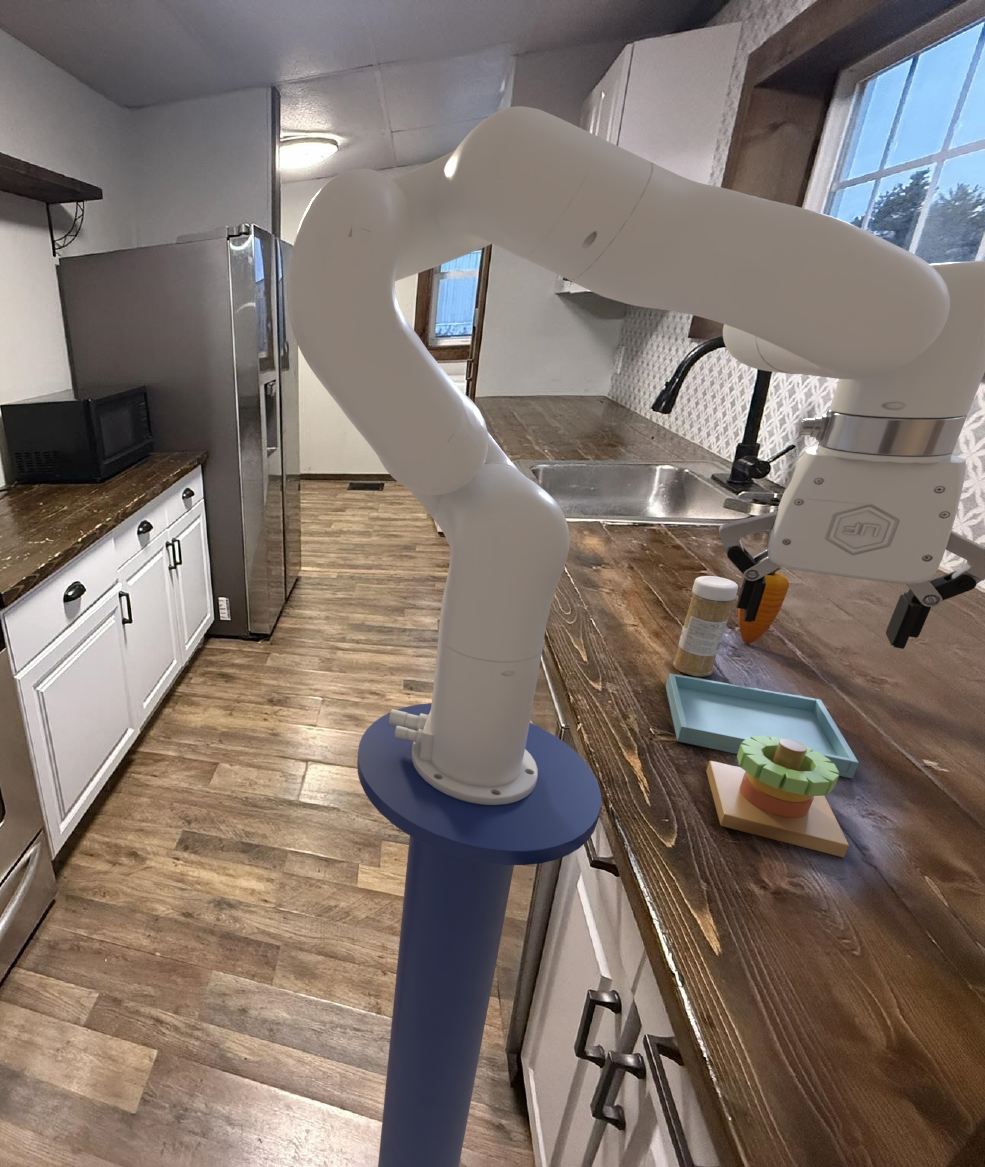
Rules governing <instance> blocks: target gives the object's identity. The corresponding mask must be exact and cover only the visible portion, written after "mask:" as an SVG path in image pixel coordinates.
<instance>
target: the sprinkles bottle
mask: <svg viewBox="0 0 985 1167" xmlns="http://www.w3.org/2000/svg"><path fill="white" fill-rule="evenodd" d="M738 590H739V585H738V584H737V583H736V582H735V581H734V580H731V579H728V578H726V577H721V576H714V575H702V576H698V577H696V578H695V579H694V582H693V585H692V589H691V592H692V593H691V594H692V596H691V599H690V602H689V606H688V610H687V613H686V617H685V620H684V623H683V626H682V630H681V634H680V637H679V641H678V647H677V651H676V654H675V658H674V660H673V662H672V666H673V667H674V668H675V670H677V671H679V672H681V673H683V674H685V675H688V676H691V677H698V678H701V677H704V678H705V677H708V676H711V675H712V674H713V672H714V666H715V661H716V657H717V655H718V654H719V650H720V647H721V644H722V640H723V636H724V634H725V630H726V627H727V623H728V621H729V620H728V619H729V615H730V611H731V608H732V604H733V602H734V600H735V599H736V597H737V594H738Z"/></svg>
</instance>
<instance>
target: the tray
mask: <svg viewBox="0 0 985 1167" xmlns="http://www.w3.org/2000/svg"><path fill="white" fill-rule="evenodd" d="M665 690H666V695H667V700H668V704H669V705H668V706H669V709H670V714H671V718H672V723H673V729H674V732H675V738H676V742H679V743H685V744H689V745H693V746H696V747H697V746H698V747H702V748H706V749H707V748H708V749H712V750H717V751H721V752H727V753H731V754H736V755H737V754H738V751H739V748H740V745H741V743H742V742H743V741H744V740H746V739H747V738H751V737H753V736H766V737H768V738H770V736H771V737H776V738H781V739H790V740H794V741H797V742H799V743H801V744H803V745H804V746H806V747H809V748H811V749H813V751H812V752H819V753H820V754H822V755H823V756H825V757H826V758H828V759H829V760H831V763H833V764H835V766H836V768H837V770H838V771H839V777H843V778H848V779H854V775H855V773H856V772H857V768H858V767H859V764H860V762H859V760H858V758H857V757H856V755H855V754H854V752H853V750H852V749H851V748H850V746H849V744H848V743H847V741H846V739H845V737H844V735H843V734H842V732H841V730H840V729H839V727H838V726H837V724H836V722H835V721H834V718H833V717H832V715H831V714H830V712H829V711H828V709H827V707H826V705H825V704H824V702H823V701H822V699H821V698H814V697H808V696H804V695H798V694H791V693H786V692H780V691H774V690H769V689H762V688H756V687H750V686H745V685H740V684H733V683H729V682H728V683H727V682H721V681H718V680H711V679H704V678H701V677H695V676H689V675H688V676H687V675H682V674H676V673H675V674H674V673H668V676H667V680H666V684H665Z"/></svg>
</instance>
